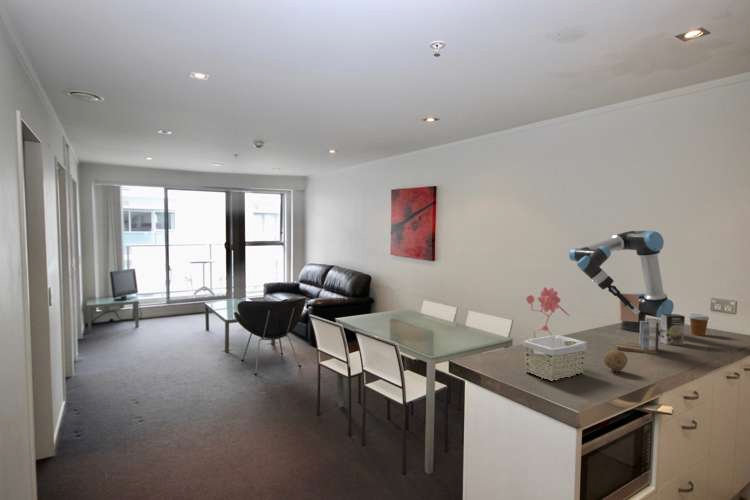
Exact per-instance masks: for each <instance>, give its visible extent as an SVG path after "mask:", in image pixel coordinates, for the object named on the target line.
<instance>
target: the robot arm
mask: <svg viewBox="0 0 750 500" xmlns="http://www.w3.org/2000/svg"><path fill="white" fill-rule="evenodd" d="M664 245H665V241H664V238H663V236H662V234H661V233H660V232H659V231H656V230H630V231H625V232H621V233H617V234H616V235H612V236H611V237H610V238H608V239H606V240H603V241H600V242H595V243H593V244H590V245H586V246H584V247H581V248H572V249H570V250H569V252H568V256H569V259H570V261H572V262H576V265H577V267H578V268H579V269H580V270H581V271H582V272H583V273H584V274H585V275H586V276H587V277H588V278H590V279H591V282H593V283H595V284H596V285H597V286H598V287H599V288H600V289H602V290H605V289H607V288H608V292H609V293H611V294H612V295H613V296H615V297H616V298H618V299H619V301H620V300H621V301H622V302H623V303H624V304H625V307H626V306H627V307H628V308H629V309H630V310H631V311H632V312H633V313H634V314H636V315H637V314H638V313H639V317H638V322H631V321H621V323H620V329H622V330H624V331H627V332H637V333H640V321H645V317H647V316H648V317H652V318H658V319H661V314H673V311H674V302H673V300H672V299H669V298H668V294H666V293H665V292H664V288H663V282H662V281H663V280H662V274H661V268H660V263H659V262H660V261H659V257H658V256H659V254H660V253H661V250H663V248H664ZM623 250H624V251H625V250H630V251H636V255H637V256H638V257H640V262H641V270H642V274H643V281H644V287H645V293H642V292H641V293H637V292H636V293H635V294H638V295H639V310H638V309H637V308H636V307H635V306H634V305H633V304H632V303H631V302H630V301H628V300H627V299H626V298H625V297H624V296H623V295H622V294H621V291H620V290H619V289H618V288H617V287H616V286H615V285H612V284H613V283H614V279H613V278H612V277H611V276H609V274H608V273H607V272H606V271H605V270H604V269H602V268H601V266H602V265H603V264H604V263H605V262H606V261H608V259H609V258H610V256H611V255H612V252H614V251H616V252H618V251H623Z"/></svg>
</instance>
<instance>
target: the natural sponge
mask: <svg viewBox="0 0 750 500" xmlns="http://www.w3.org/2000/svg"><path fill="white" fill-rule="evenodd" d="M603 360H604V361H603V362H604V365H606V367H608V368H609V369H610V370H611V371H613V372H615V371H616V372H615V373H619V372H621V371H622V370H623V369H624V368H625V367H626V365H627V363H628V357H627V355H626V354H625V353H624V352H623V351H622V350H617V349H611V350H609V351H607V352H606V353H605V355H604V356H603Z"/></svg>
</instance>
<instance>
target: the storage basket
mask: <svg viewBox="0 0 750 500" xmlns="http://www.w3.org/2000/svg"><path fill="white" fill-rule="evenodd" d="M566 344H567V345H566ZM587 346H588V342H587V341H586V340H585V341H584V340H582V339H581V340H580V339H577V338H571V337H567V336H563V335H559V334H557V335H556V334H555V335H552V336H551V335H547V336H542V337H534V338H529V339H527V340H524V341H523V353H524V354H523V355H524V370H525V369H526V370H529V371H531V372H534V373H536V374H539V375H541V376H543V377H546V378H549V379H558V378H563V379H565V378H564V377H568V378H570V377H569V376H573V377H575V376H577V375H576V374H579V375H581V374H580V373H582V374H584V366H585V361H586V353H587V349H588V347H587ZM574 375H575V376H574Z"/></svg>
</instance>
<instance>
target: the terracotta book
mask: <svg viewBox="0 0 750 500" xmlns="http://www.w3.org/2000/svg"><path fill="white" fill-rule="evenodd" d="M620 293H621V292H620ZM621 294H622V295H623V296H624V297H625V298H626V299H627V300H628V301H630V302H631V303H632V304H633V305H634V306H635V307H636V308H637V309H638V310H639V295H638V294H636V293H623V292H622V293H621ZM618 313H619V315H618V316H619V317H618V319H619V320H620V322H622V321H631V322H638V317H639V313H638V314H637V315H636V314H634V313H633V312H632V311H631V310H630V309H629V308H628V307H627V306H626V307H625V304H624V303H623V302H622V301H621V300H620V299H619V311H618Z"/></svg>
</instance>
